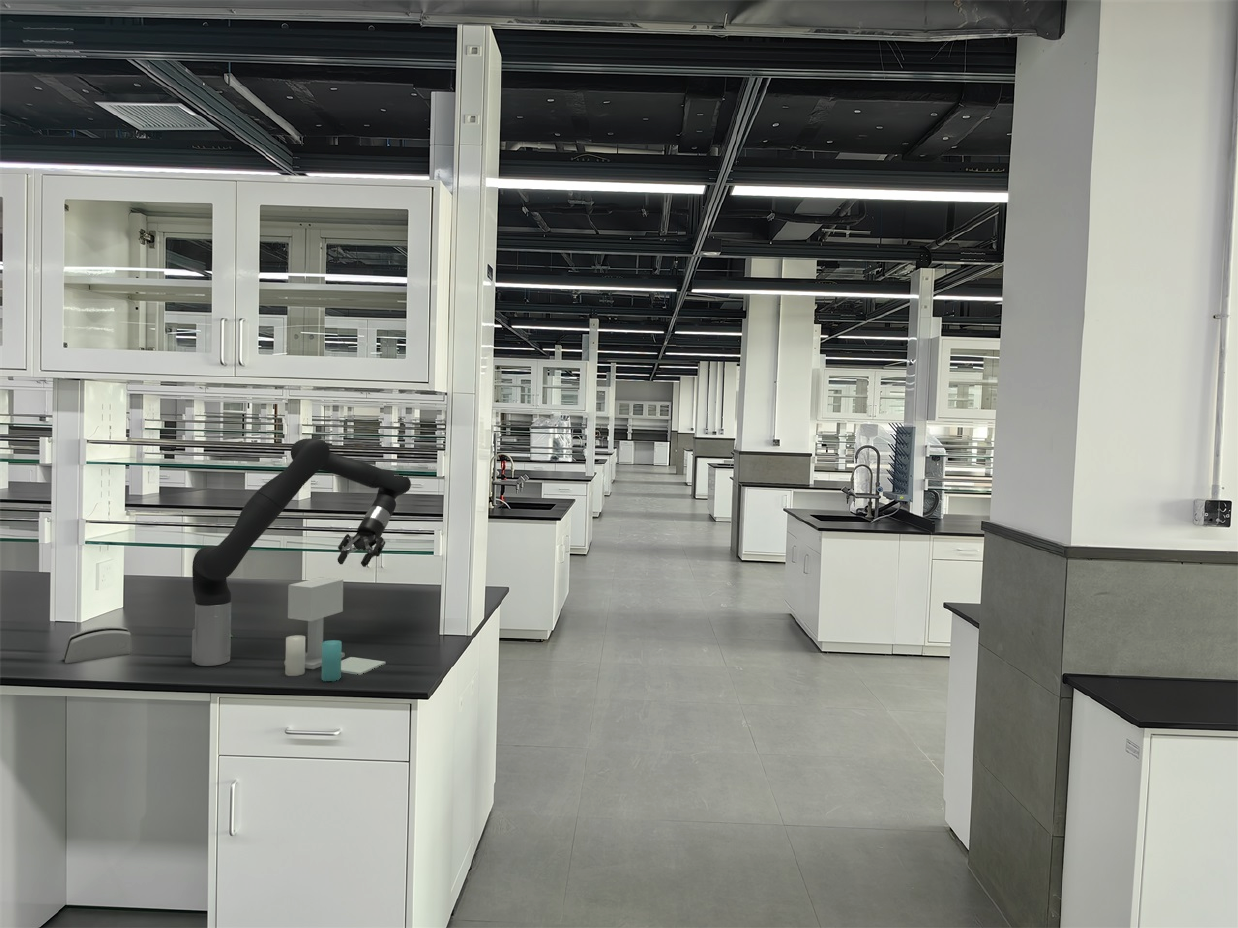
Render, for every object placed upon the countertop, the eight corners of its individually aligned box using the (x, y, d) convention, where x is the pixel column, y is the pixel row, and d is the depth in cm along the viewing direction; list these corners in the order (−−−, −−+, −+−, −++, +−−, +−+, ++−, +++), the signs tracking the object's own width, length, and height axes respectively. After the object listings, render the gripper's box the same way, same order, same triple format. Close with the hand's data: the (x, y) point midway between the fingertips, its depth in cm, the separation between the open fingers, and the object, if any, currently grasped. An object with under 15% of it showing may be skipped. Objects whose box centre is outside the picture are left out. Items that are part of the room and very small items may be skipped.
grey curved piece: (127, 649, 243) (131, 620, 241) (131, 658, 240) (135, 628, 238) (61, 659, 231) (64, 629, 229) (65, 668, 228) (68, 637, 226)
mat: (324, 669, 230) (324, 667, 230) (350, 658, 241) (351, 656, 241) (360, 674, 226) (360, 672, 226) (385, 663, 238) (385, 661, 238)
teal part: (317, 680, 221) (318, 643, 220) (329, 675, 225) (330, 639, 225) (332, 682, 219) (333, 645, 219) (344, 677, 224) (345, 641, 223)
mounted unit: (284, 664, 233) (285, 584, 232) (318, 652, 247) (319, 576, 246) (313, 669, 230) (314, 587, 229) (345, 656, 244) (347, 579, 243)
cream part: (281, 674, 224) (281, 638, 224) (293, 669, 229) (294, 634, 229) (296, 676, 223) (296, 640, 222) (308, 671, 228) (309, 636, 227)
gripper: (350, 514, 262) (326, 555, 251) (388, 517, 257) (365, 558, 247) (360, 529, 267) (337, 569, 257) (397, 532, 263) (375, 573, 252)
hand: (351, 564), depth 252 cm, fingers open, 8 cm apart
